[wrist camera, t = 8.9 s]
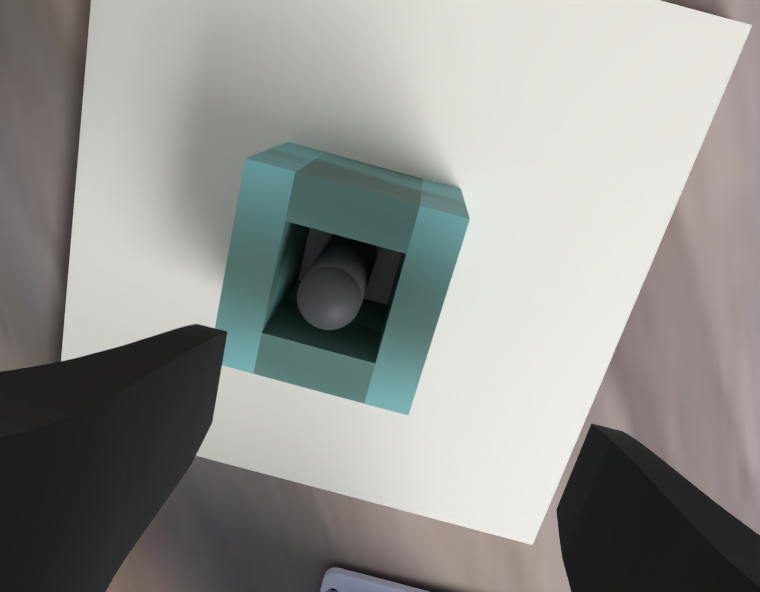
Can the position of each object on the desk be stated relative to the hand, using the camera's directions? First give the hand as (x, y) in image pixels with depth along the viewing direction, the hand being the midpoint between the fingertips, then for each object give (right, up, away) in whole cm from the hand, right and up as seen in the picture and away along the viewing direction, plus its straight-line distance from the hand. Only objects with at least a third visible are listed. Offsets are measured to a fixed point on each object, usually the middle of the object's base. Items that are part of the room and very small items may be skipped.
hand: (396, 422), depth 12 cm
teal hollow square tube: (-1, +4, +8) cm, 9 cm away
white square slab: (-1, +4, +9) cm, 10 cm away
